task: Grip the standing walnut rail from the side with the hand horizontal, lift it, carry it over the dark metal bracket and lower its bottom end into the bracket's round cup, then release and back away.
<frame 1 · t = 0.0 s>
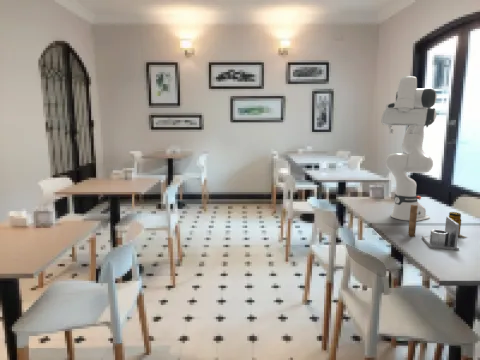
hand: (401, 133, 179), 52 cm above the table, tool tilted 20°, fingers open, 8 cm apart
condiment: (454, 236, 185), on the table
rail: (411, 235, 184), on the table
cup bracket: (438, 244, 171), on the table
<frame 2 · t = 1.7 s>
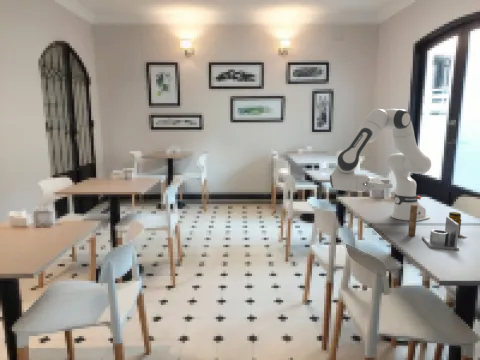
hand: (390, 184, 182), 26 cm above the table, tool horizontal, fingers open, 8 cm apart
nothing on the table moved.
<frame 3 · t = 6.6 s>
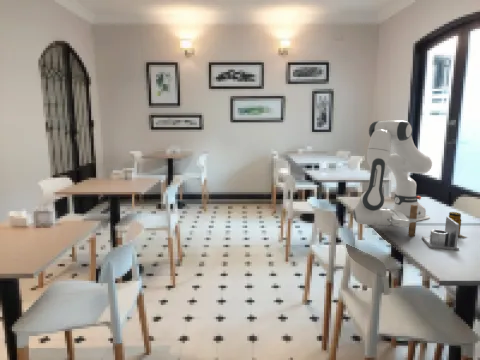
hand: (414, 219, 182), 9 cm above the table, tool horizontal, fingers closed on rail, 3 cm apart
rail: (411, 235, 184), on the table, touching gripper
everything else where it was.
when the fingers open (11 cm above the table, at t = 11.3 s): rail drops 1 cm, resting on cup bracket.
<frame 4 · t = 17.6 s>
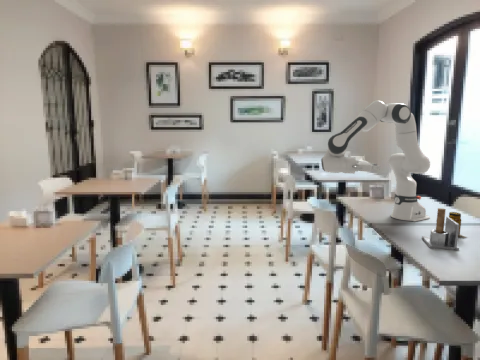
hand: (378, 166, 192), 34 cm above the table, tool horizontal, fingers open, 8 cm apart
rail: (438, 241, 171), point 1 cm above the table, touching cup bracket
everything else where it was.
at the end: rail 0.1 cm off-centre on the cup bracket, point 1.2 cm above the cup bracket's base; rail tilted 2°; the gripper is holding nothing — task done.
